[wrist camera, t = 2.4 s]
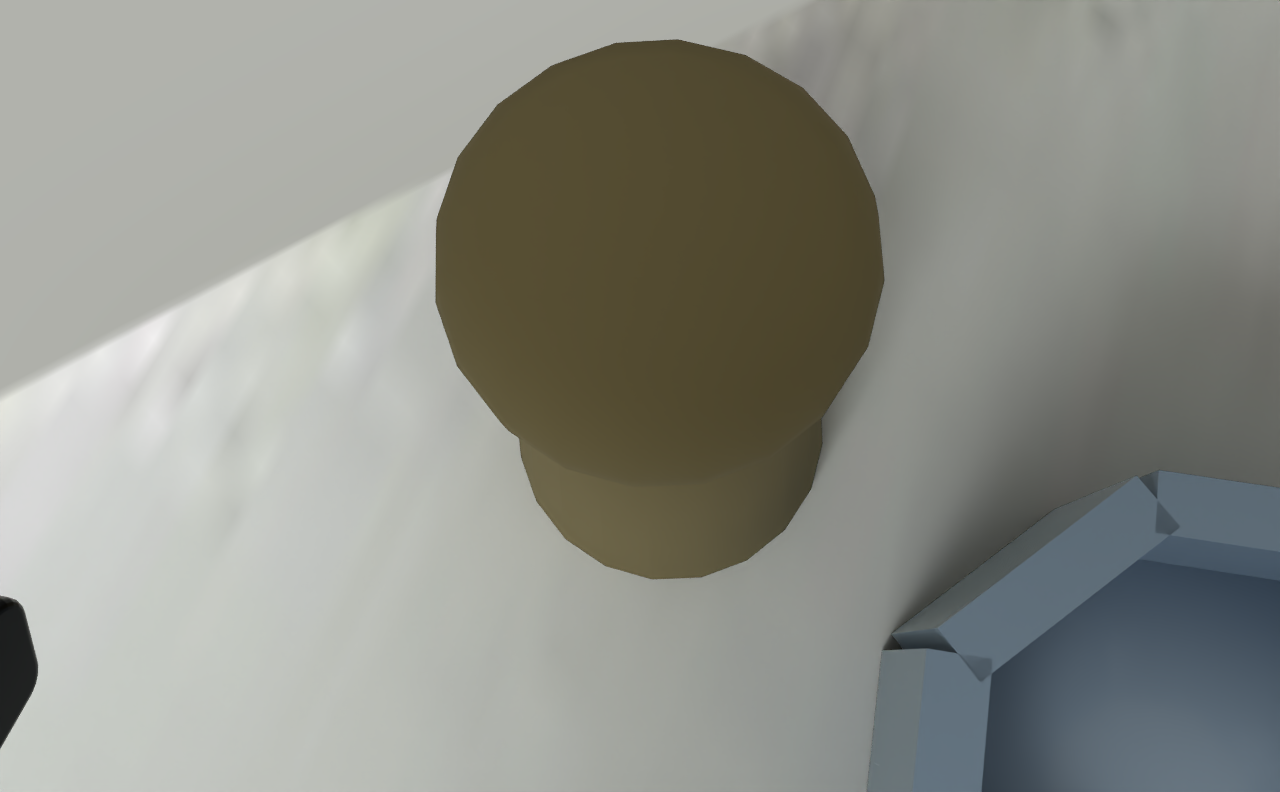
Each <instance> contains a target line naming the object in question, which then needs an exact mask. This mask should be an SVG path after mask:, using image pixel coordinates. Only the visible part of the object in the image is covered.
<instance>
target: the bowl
mask: <svg viewBox="0 0 1280 792" xmlns="http://www.w3.org/2000/svg"><path fill="white" fill-rule="evenodd" d="M892 635H893V637H894V638H895V639H896V641H897V642H898V643H899V645H900V646H901V647H902V649H903V650H882V654H881V664H880V673H879V682H878V691H877V701H876V710H875V719H874V728H873V738H872V747H871V756H870V765H869V774H868V784H867V792H1280V488H1278V487H1271V486H1264V485H1257V484H1251V483H1244V482H1237V481H1230V480H1223V479H1217V478H1210V477H1203V476H1196V475H1189V474H1182V473H1176V472H1169V471H1162V470H1158V471H1155V472H1153V473H1150V474H1148V475H1145V476H1143V477H1140V478H1138V476H1134V477H1132V478H1129V479H1127V480H1124V481H1122V482H1119V483H1117V484H1115V485H1112V486H1110V487H1107V488H1105V489H1102V490H1100V491H1097V492H1095V493H1093V494H1090V495H1088V496H1085V497H1083V498H1080V499H1078V500H1076V501H1073V502H1071V503H1068V504H1066V505H1063V506H1061V507H1058V508H1056V509H1054V510H1053V511H1051V512H1050V513H1049V514H1047V515H1046V516H1045V517H1044V518H1042V519H1041V520H1040V521H1038V522H1037V523H1036V524H1034V525H1033V526H1032V527H1030V528H1029V529H1028V530H1026V531H1025V532H1024V533H1023V534H1021V535H1020V536H1019V537H1017V538H1016V539H1015V540H1013V541H1012V542H1011V543H1009V544H1008V545H1007V546H1006V547H1004V548H1003V549H1002V550H1000V551H999V552H998V553H996V554H995V555H994V556H992V557H991V558H990V559H988V560H987V561H986V562H985V563H983V564H982V565H981V566H979V567H978V568H977V569H975V570H974V571H973V572H971V573H970V574H969V575H968V576H966V577H965V578H964V579H962V580H961V581H960V582H958V583H957V584H956V585H954V586H953V587H952V588H950V589H949V590H948V591H947V592H945V593H944V594H943V595H941V596H940V597H939V598H937V599H936V600H935V601H933V602H932V603H931V604H930V605H928V606H927V607H926V608H924V609H923V610H922V611H920V612H919V613H918V614H916V615H915V616H914V617H912V618H911V619H910V620H909V621H907V622H906V623H905V624H903V625H902V626H901V627H899V628H898V629H897V630H895V631H894V632H893V633H892Z"/></svg>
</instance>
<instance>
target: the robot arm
mask: <svg viewBox="0 0 1280 792" xmlns="http://www.w3.org/2000/svg"><path fill="white" fill-rule="evenodd" d="M37 676H38V662H37V658H36V654H35V650H34V646H33V642H32V638H31V634H30V630H29V626H28V623H27V619H26V615H25V611H24V609H23V607H22V605H21V604H20V603H19V602H18V601H17V600H15V599H12V598H9V597H4V596H0V748H1V747H2V745H3V743H4V741H5V740H6V738H7V736H8V734H9V733H10V731H11V729H12V727H13V726H14V724H15V722H16V720H17V719H18V717H19V715H20V713H21V712H22V710H23V708H24V707H25V705H26V703H27V701H28V700H29V698H30V696H31V694H32V692H33V690H34V687H35V684H36V680H37Z"/></svg>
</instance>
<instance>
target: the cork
mask: <svg viewBox="0 0 1280 792" xmlns="http://www.w3.org/2000/svg"><path fill="white" fill-rule="evenodd" d="M883 284H884V270H883V259H882V249H881V238H880V227H879V216H878V210H877V205H876V200H875V196H874V193H873V191H872V189H871V187H870V184H869V182H868V180H867V178H866V176H865V173H864V171H863V169H862V167H861V165H860V162H859V160H858V158H857V156H856V154H855V151H854V149H853V147H852V145H851V143H850V140H849V138H848V136H847V135H846V134H845V133H844V132H843V131H842V130H841V129H840V128H839V126H838V125H837V124H836V123H835V122H834V121H833V120H832V119H831V118H830V117H829V116H828V115H827V113H826V112H825V111H824V110H823V109H822V108H821V107H820V106H819V105H818V104H817V103H816V102H815V100H814V99H813V98H812V97H811V96H810V95H809V94H808V93H807V92H806V91H805V90H804V89H803V88H802V87H800V86H799V85H797V84H795V83H793V82H792V81H790V80H788V79H786V78H785V77H783V76H781V75H779V74H778V73H776V72H774V71H772V70H771V69H769V68H767V67H765V66H764V65H762V64H760V63H758V62H757V61H755V60H753V59H751V58H750V57H748V56H746V55H742V54H738V53H734V52H730V51H725V50H721V49H717V48H712V47H708V46H704V45H699V44H695V43H691V42H686V41H682V40H660V41H642V42H624V43H614V44H612V45H609V46H606V47H603V48H600V49H597V50H594V51H592V52H589V53H586V54H583V55H580V56H577V57H575V58H572V59H569V60H566V61H563V62H560V63H558V64H555V65H553V66H550V67H549V68H548V69H546V70H545V71H543V72H542V73H541V74H539V75H538V76H537V77H535V78H534V79H532V80H531V81H530V82H528V83H527V84H526V85H524V86H523V87H521V88H520V89H519V90H517V91H516V92H514V93H513V94H512V95H510V96H509V97H508V98H506V99H505V100H503V101H502V102H501V103H499V104H498V105H497V106H496V107H495V109H494V110H493V111H492V113H491V114H490V115H489V117H488V118H487V119H486V121H485V122H484V123H483V125H482V126H481V127H480V129H479V130H478V132H477V133H476V134H475V135H474V137H473V138H472V139H471V141H470V142H469V143H468V145H467V146H466V147H465V149H464V150H463V151H462V152H461V154H460V155H459V157H458V158H457V161H456V164H455V167H454V170H453V173H452V176H451V179H450V182H449V185H448V187H447V190H446V193H445V196H444V199H443V202H442V205H441V208H440V211H439V213H438V216H437V223H436V305H437V308H438V311H439V314H440V317H441V320H442V323H443V326H444V329H445V332H446V335H447V337H448V340H449V343H450V346H451V349H452V352H453V355H454V358H455V361H456V364H457V366H458V368H459V369H460V370H461V372H462V373H463V374H464V376H465V377H466V378H467V379H468V381H469V382H470V383H471V385H472V386H473V387H474V388H475V390H476V391H477V392H478V394H479V395H480V396H481V398H482V399H483V400H484V401H485V403H486V404H487V405H488V407H489V408H490V409H491V410H492V412H493V413H494V414H495V416H496V417H497V418H498V420H499V421H500V422H501V423H502V424H503V425H504V426H505V428H506V429H507V430H508V431H509V432H511V433H512V434H514V435H515V436H517V437H518V438H519V441H520V451H521V458H522V461H523V464H524V467H525V469H526V472H527V475H528V478H529V481H530V484H531V487H532V490H533V493H534V496H535V498H536V501H537V502H538V504H539V505H540V506H541V508H542V509H543V510H544V512H545V513H546V514H547V516H548V517H549V518H550V519H551V521H552V522H553V523H554V525H555V526H556V527H557V529H558V530H559V531H560V532H561V534H562V535H563V536H564V538H565V539H566V540H568V541H569V542H571V543H572V544H574V545H575V546H577V547H578V548H580V549H581V550H583V551H584V552H586V553H587V554H589V555H590V556H591V557H593V558H594V559H596V560H597V561H599V562H600V563H602V564H603V565H605V566H607V567H611V568H615V569H618V570H622V571H625V572H629V573H632V574H636V575H639V576H643V577H646V578H650V579H670V578H695V577H703V576H706V575H709V574H711V573H714V572H717V571H719V570H722V569H725V568H727V567H730V566H733V565H735V564H738V563H741V562H743V561H746V560H748V559H749V558H750V557H752V556H753V555H754V554H755V553H757V552H758V551H759V550H760V549H761V548H763V547H764V546H765V545H766V544H768V543H769V542H770V541H771V540H773V539H774V538H775V537H776V536H778V535H779V534H780V533H781V532H783V531H784V530H785V529H786V527H787V526H788V524H789V522H790V521H791V519H792V518H793V516H794V515H795V513H796V512H797V510H798V508H799V507H800V505H801V504H802V502H803V501H804V499H805V498H806V496H807V494H808V493H809V491H810V490H811V486H812V483H813V479H814V475H815V471H816V467H817V463H818V459H819V455H820V451H821V447H822V428H821V418H822V417H823V415H824V414H825V412H826V411H827V409H828V408H829V406H830V405H831V403H832V402H833V400H834V398H835V397H836V395H837V394H838V392H839V391H840V389H841V388H842V386H843V385H844V383H845V381H846V380H847V378H848V377H849V375H850V374H851V372H852V371H853V369H854V368H855V366H856V365H857V363H858V361H859V360H860V358H861V357H862V355H863V354H864V352H865V351H866V349H867V348H868V345H869V341H870V337H871V333H872V329H873V325H874V320H875V316H876V312H877V308H878V304H879V300H880V296H881V292H882V288H883Z"/></svg>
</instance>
